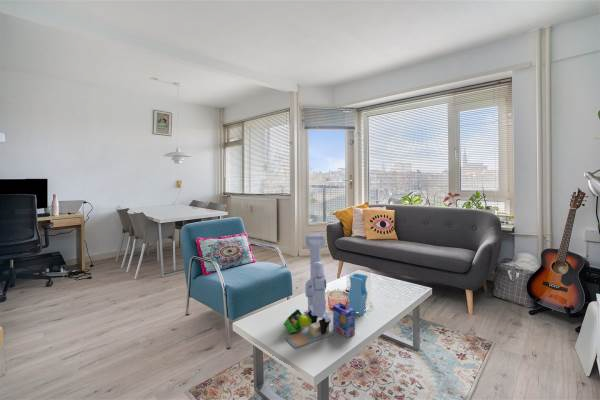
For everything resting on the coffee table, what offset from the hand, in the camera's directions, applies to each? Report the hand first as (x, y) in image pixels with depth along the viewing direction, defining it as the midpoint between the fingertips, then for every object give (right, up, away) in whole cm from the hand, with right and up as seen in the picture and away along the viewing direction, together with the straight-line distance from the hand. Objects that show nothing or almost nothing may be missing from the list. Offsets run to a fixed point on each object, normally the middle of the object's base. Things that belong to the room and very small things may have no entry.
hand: (318, 330), depth 140 cm
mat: (-5, -2, -3) cm, 6 cm away
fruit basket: (-13, 0, +4) cm, 14 cm away
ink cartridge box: (+12, -2, +2) cm, 12 cm away
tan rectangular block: (0, -1, 0) cm, 1 cm away
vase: (+23, 0, +23) cm, 32 cm away
